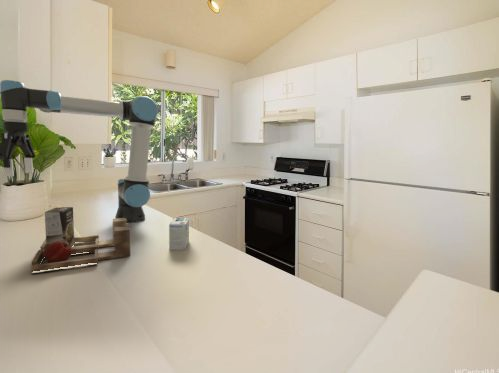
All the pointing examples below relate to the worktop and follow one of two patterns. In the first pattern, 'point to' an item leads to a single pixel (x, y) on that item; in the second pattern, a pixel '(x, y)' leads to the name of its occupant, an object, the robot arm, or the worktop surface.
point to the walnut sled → (120, 251)
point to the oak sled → (96, 236)
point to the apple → (57, 252)
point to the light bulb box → (178, 234)
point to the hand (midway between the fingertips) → (19, 174)
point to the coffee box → (59, 225)
